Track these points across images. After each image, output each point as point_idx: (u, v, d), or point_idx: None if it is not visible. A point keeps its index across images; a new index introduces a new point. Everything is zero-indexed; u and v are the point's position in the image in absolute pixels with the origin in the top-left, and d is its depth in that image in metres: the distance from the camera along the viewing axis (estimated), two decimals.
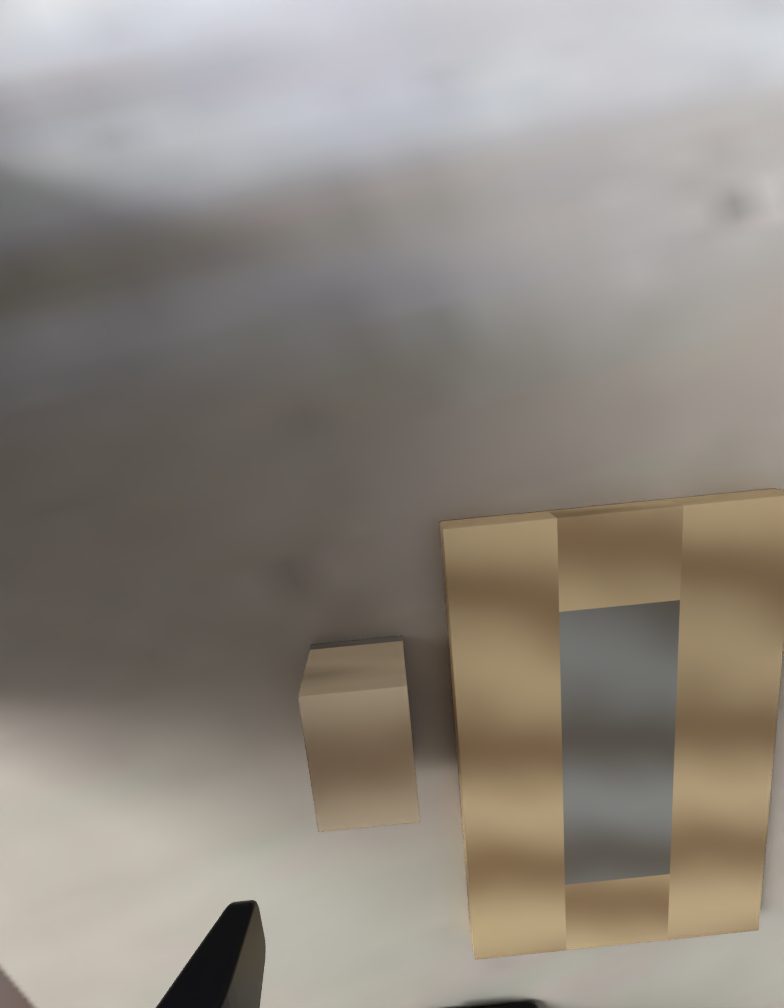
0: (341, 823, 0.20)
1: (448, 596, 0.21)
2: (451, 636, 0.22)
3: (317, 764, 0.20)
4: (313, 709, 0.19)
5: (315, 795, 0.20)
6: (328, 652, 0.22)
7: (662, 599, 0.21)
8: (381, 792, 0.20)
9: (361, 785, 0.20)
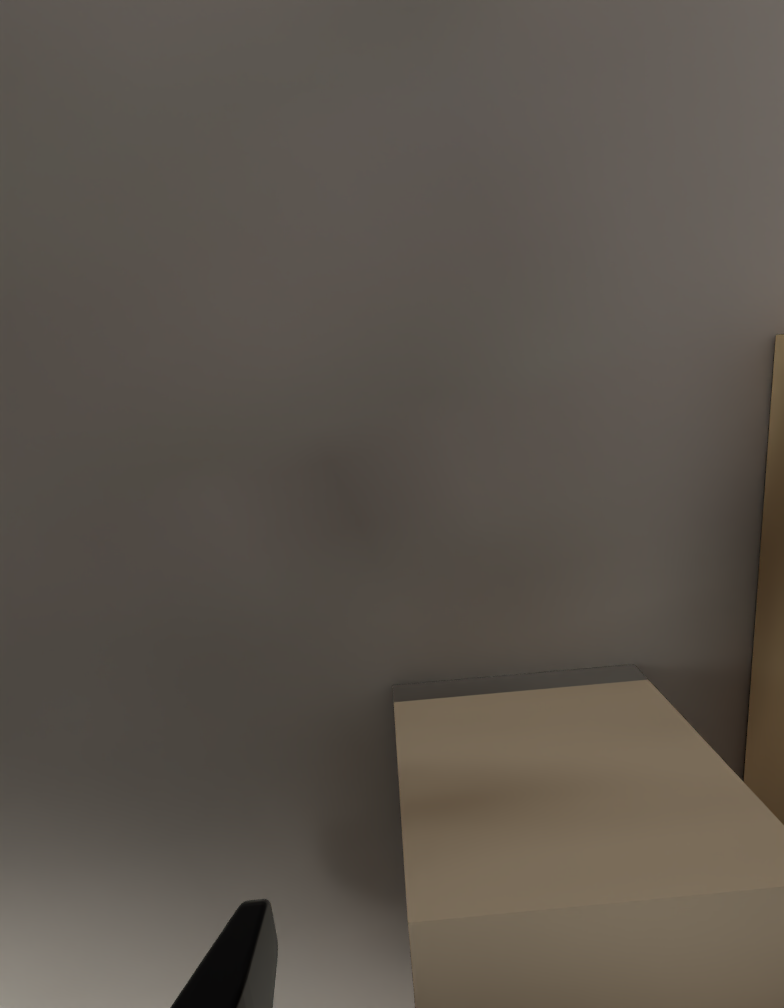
0: None
1: None
2: None
3: None
4: (465, 966, 0.05)
5: None
6: (452, 713, 0.08)
7: None
8: None
9: None
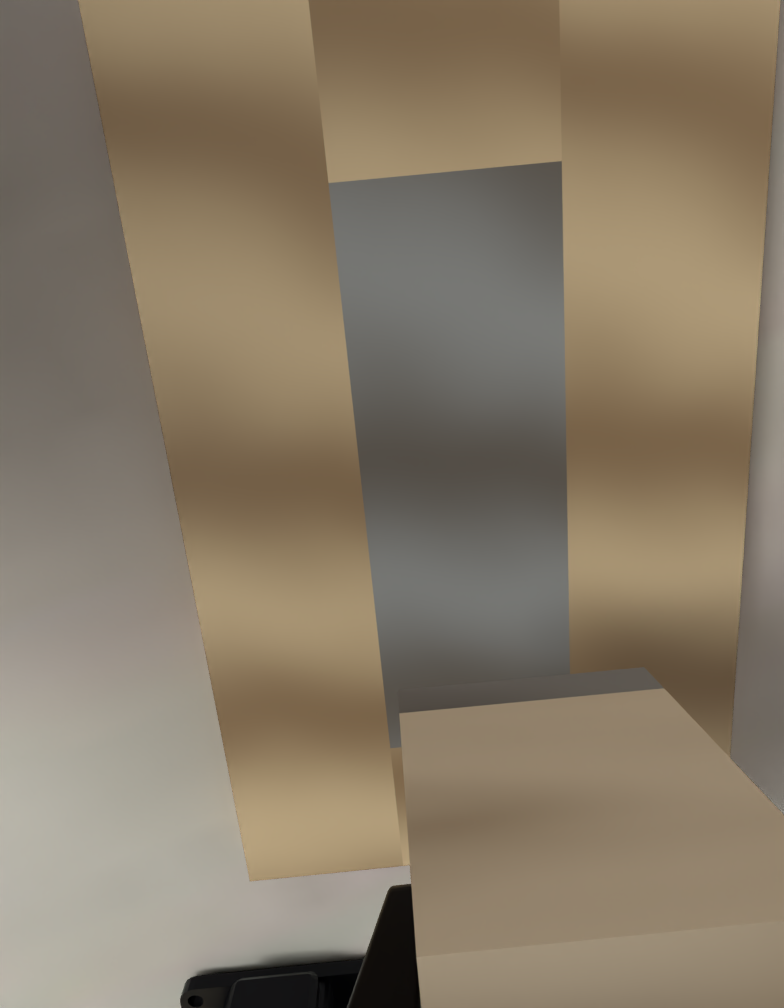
0: None
1: (109, 145, 0.11)
2: (127, 237, 0.11)
3: None
4: (477, 1002, 0.05)
5: None
6: (460, 725, 0.07)
7: (527, 158, 0.11)
8: None
9: None
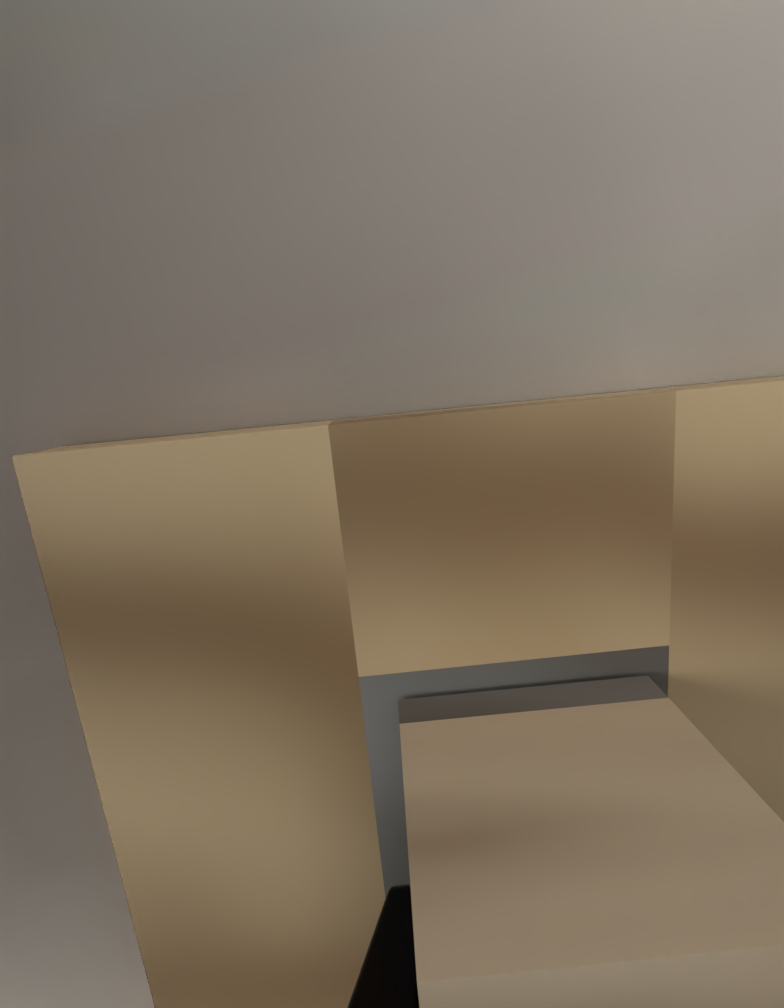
0: None
1: (64, 638, 0.08)
2: (90, 738, 0.09)
3: None
4: None
5: None
6: (461, 736, 0.07)
7: (624, 644, 0.08)
8: None
9: None
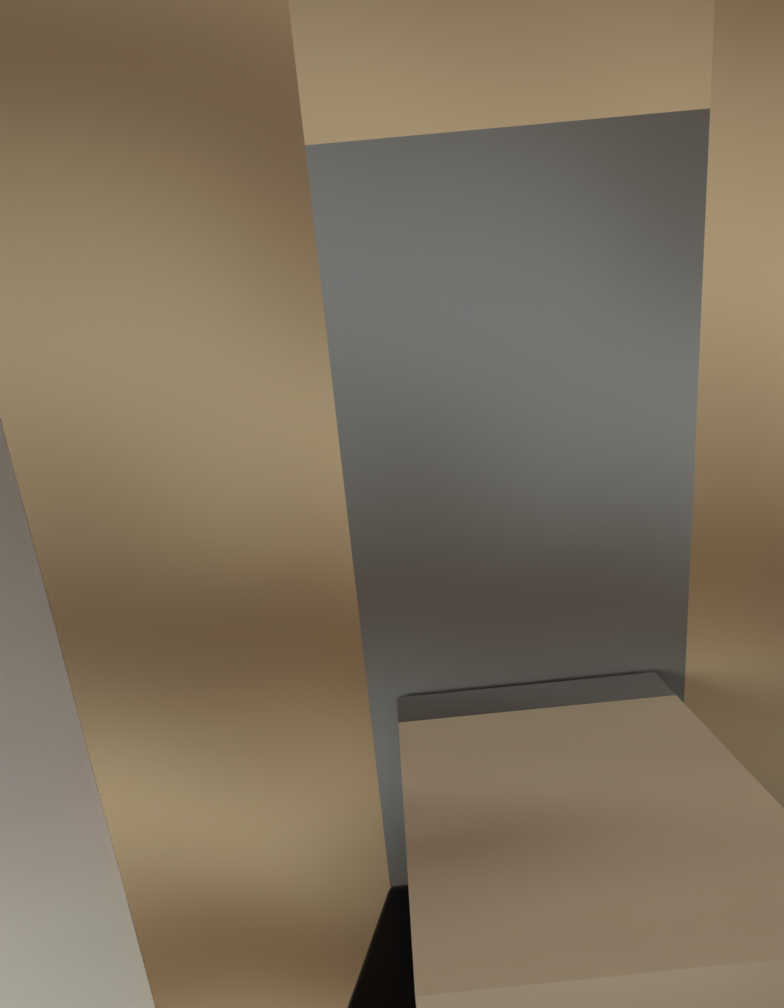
0: None
1: None
2: None
3: None
4: None
5: None
6: (462, 735, 0.07)
7: (651, 104, 0.06)
8: None
9: None
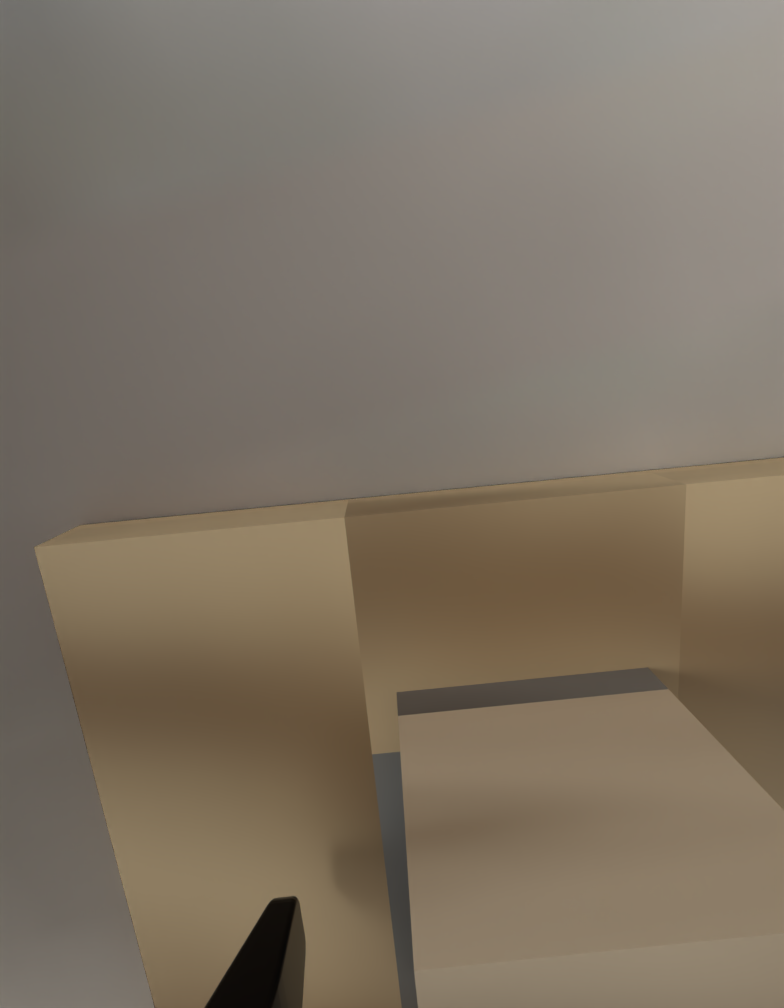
0: None
1: (84, 717, 0.08)
2: (108, 811, 0.09)
3: None
4: None
5: None
6: (460, 727, 0.07)
7: None
8: None
9: None
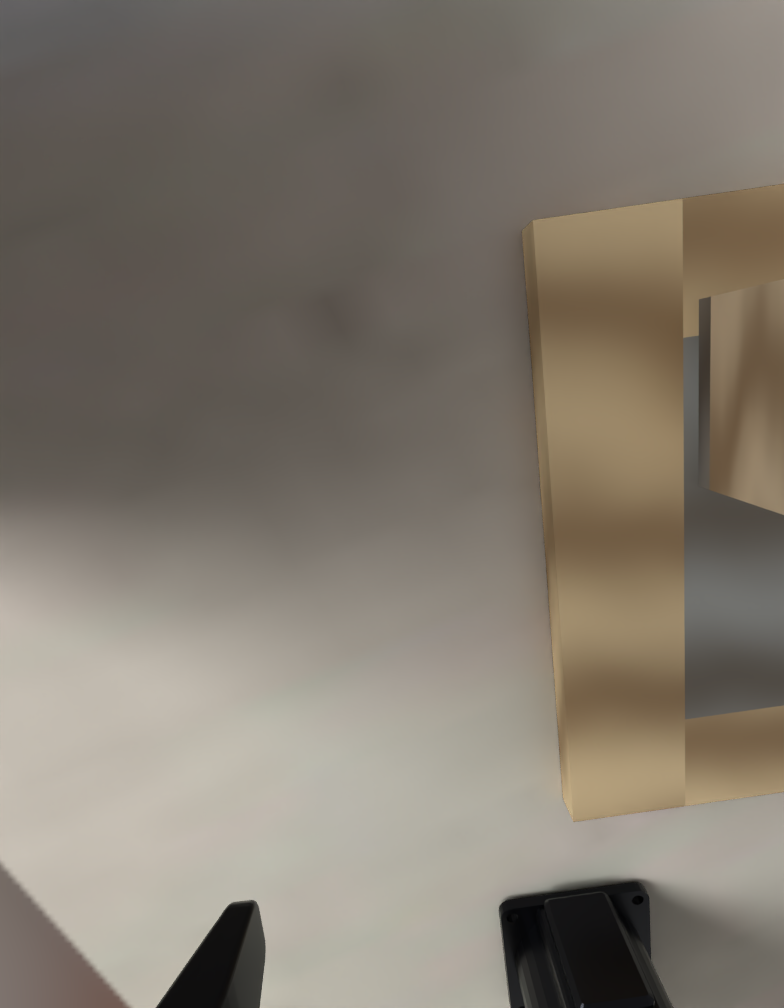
0: None
1: (539, 321, 0.16)
2: (543, 379, 0.17)
3: None
4: None
5: None
6: None
7: None
8: None
9: None
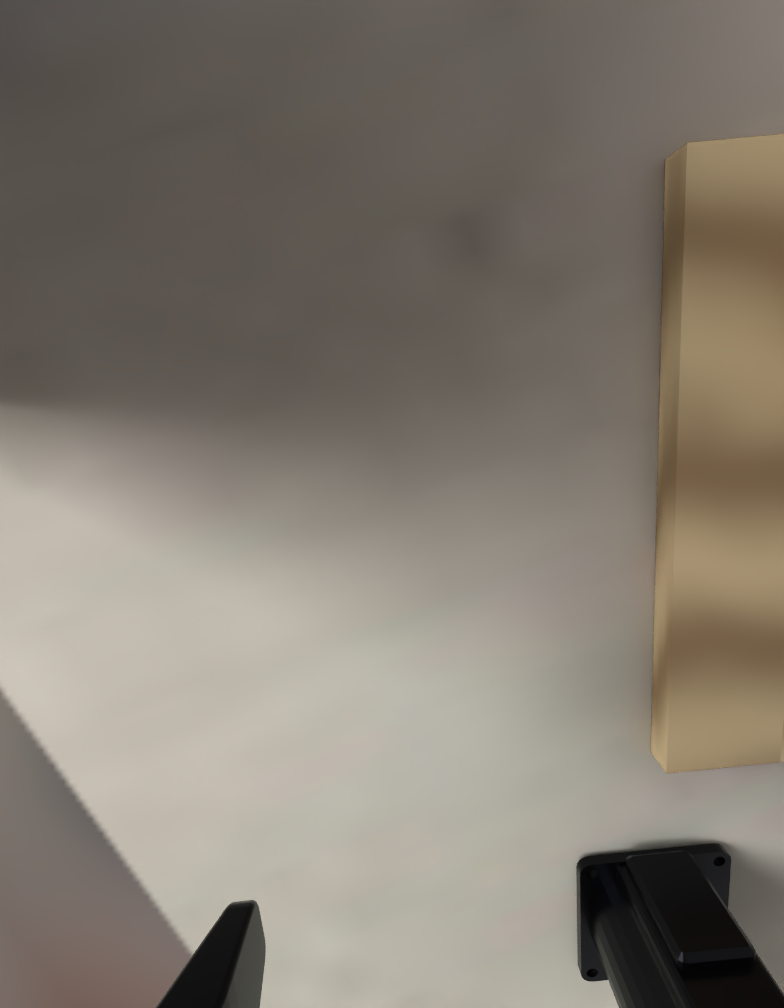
0: None
1: (682, 248, 0.16)
2: (681, 308, 0.17)
3: None
4: None
5: None
6: None
7: None
8: None
9: None
